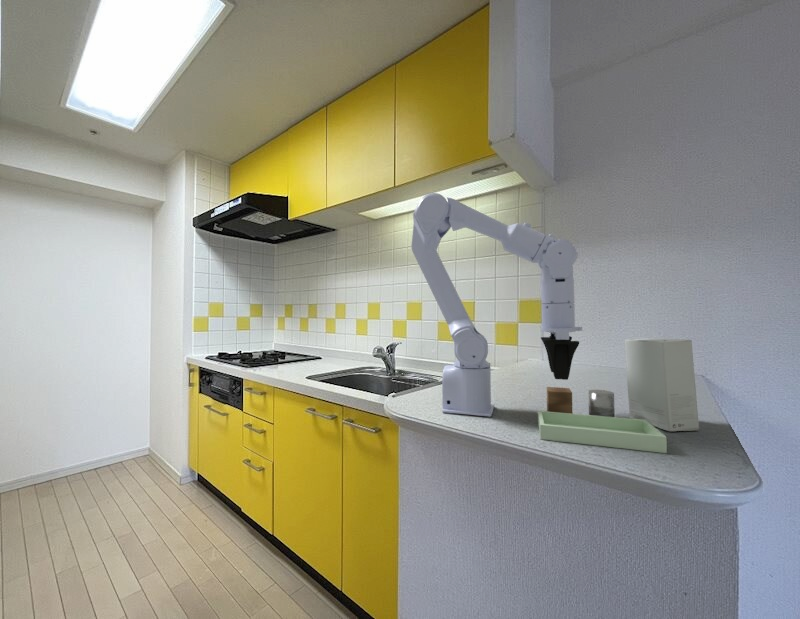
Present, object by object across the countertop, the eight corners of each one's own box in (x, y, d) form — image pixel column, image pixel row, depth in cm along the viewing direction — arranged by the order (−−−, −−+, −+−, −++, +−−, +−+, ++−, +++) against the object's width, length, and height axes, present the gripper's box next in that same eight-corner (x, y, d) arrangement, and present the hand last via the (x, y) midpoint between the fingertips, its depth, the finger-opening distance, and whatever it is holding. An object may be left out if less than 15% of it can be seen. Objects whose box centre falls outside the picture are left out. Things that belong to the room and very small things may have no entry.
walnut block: (548, 418, 62) (548, 391, 62) (546, 412, 65) (546, 386, 66) (572, 420, 60) (572, 392, 60) (569, 414, 64) (569, 388, 64)
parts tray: (540, 439, 51) (540, 424, 51) (538, 423, 59) (537, 410, 59) (666, 453, 46) (666, 437, 46) (646, 433, 53) (645, 419, 53)
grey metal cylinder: (591, 421, 59) (590, 393, 59) (587, 415, 63) (586, 389, 63) (617, 424, 58) (616, 395, 58) (611, 417, 62) (611, 390, 62)
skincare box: (700, 431, 54) (697, 339, 54) (667, 433, 53) (665, 340, 54) (653, 415, 62) (652, 336, 63) (625, 417, 62) (623, 337, 62)
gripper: (588, 302, 55) (590, 384, 55) (575, 304, 69) (576, 370, 68) (542, 303, 57) (544, 381, 57) (538, 305, 71) (539, 368, 71)
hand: (558, 375), depth 63 cm, fingers open, 7 cm apart
